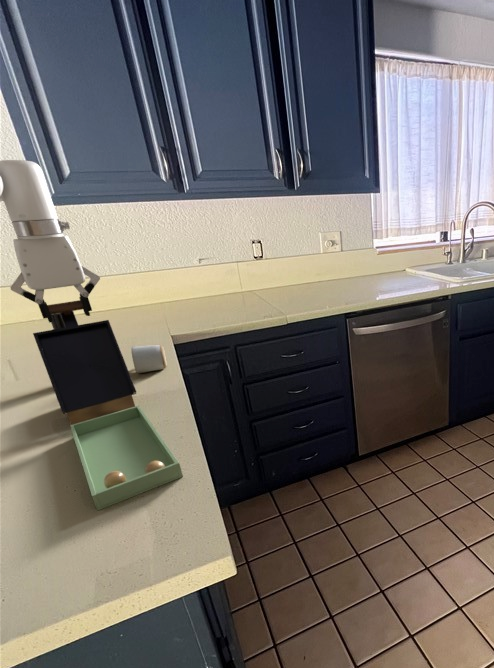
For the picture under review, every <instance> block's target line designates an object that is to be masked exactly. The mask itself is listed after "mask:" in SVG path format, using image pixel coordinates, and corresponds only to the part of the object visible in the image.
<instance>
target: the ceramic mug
mask: <svg viewBox="0 0 494 668" xmlns="http://www.w3.org/2000/svg"><path fill="white" fill-rule="evenodd" d="M131 358H132V363H133V367H134V370H135V372H136V374H142V373H143V374H144V373H149V372H155V371H161V370H164V369H166V368H167V367H168V362H167V356H166V351H165V348H164V346H163V345H161V344H152V345H139V346H132V347H131Z"/></svg>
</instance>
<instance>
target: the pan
mask: <svg viewBox="0 0 494 668" xmlns="http://www.w3.org/2000/svg"><path fill="white" fill-rule="evenodd" d="M47 306H48V309H49V311H50V314H57V313H60V314H61V317H62V319H63V322H64V325H65V328H60V329H54V330H52V329H49V330H44V331H38V332H33V333H32V335H33V338H34V340H35V342H36V345H37V348H38V351H39V354H40V357H41V359H42V361H43V365H44V367H45V370H46V373H47V376H48V378H49V382H50V383H51V386H52V389H53V391H54V394H55V397H56V400H57V402H58V404H59V407H60V410H61V413H62V414H63V415H65V414H67V413H69V412H72V411H76V410H80V409H83V408H87V407H91V406H94V405H98V404H102V403H105V402H109V401H113V400H116V399H120V398H123V397H127V396H131V395H132V396H135V395H137V390H136V387H135V384H134V381H133V379H132V376H131V374H130V372H129V370H128V366H127V363H126V361H125V358H124V356H123V353H122V351H121V348H120V346H119V343H118V341H117V338H116V335H115V332H114V330H113V327H112V325H111V322H110V320H109V319H105V320H99V321H94V322H89V323H83V324H79V323H78V320H77V317H76V315H75V311H82V310H83V306H82V303H81V301H80V299H79V300H72V301H65V302H58V303H52V304H47Z"/></svg>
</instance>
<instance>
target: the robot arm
mask: <svg viewBox="0 0 494 668" xmlns="http://www.w3.org/2000/svg"><path fill="white" fill-rule="evenodd" d="M0 202H3V203H4V205H5V209H6V211H7V214H8V216H9V219H10V221H11V224H12V227H13V230H14V233H15V235H16V237H17V238H14V239H12V240H13V247H14V253H15V256H16V260H17V263H18V267H19V269H20V273H19V274H18V275H17V277H16V278H15V280H14V281H13V283H12V284H11V285H10V291H12V292H14V293H16V294H17V295H20V296H22V297H24V298H26V299H28V300H29V301H31V302H33V303H36V304H37V305H38V308H39V311H40V314H41V316H42V319H47V321H48V323H51V322H52V321H53V320H52V317H51V314H50V311H49V309H48V306H47V305H48V303H47V302H46V301H45V299H44V294H45V290H51V289H59V288H67V287H74V288H75V289H76V290H77V291H78V293H79V297H78V299H79V300H80V301H81V303H82V306H83V309H82V310H83V314H84V315H85V316H86V317H90V316H91V313H90V312H92V311H93V309H92V306H91V303H90V299H89V297H90V294H91V293H92V291H93V290H94V288H95V287H96V285H97V284H98V283H99V281H100V280H101V277H100V276H99V275H98V274H97V273H95V272H93V271H91V270H89V269H88V268H86V267H84V266H83V265H82V264H81V261H80V259H79V255H78V254H77V251H76V250H75V248H74V245H73V243H72V241H71V238H70V237H69V236H68V235H67V234H66V235H64V232H65V231H66V230H70V229H71V228H70V223H69V222H68V221H61V220H60V219H59V217H58V214H57V211H56V208H55V205H54V202H53V198H52V196H51V193H50V190H49V187H48V184H47V181H46V178H45V175H44V171H43V169H42V168H41V166H40V165H39V164H38V163H37V162H35V161H31V160H24V159H2V160H0ZM86 276H87V277H88V278H89V281H88V282H87V283H86V284H85V285H84V286H83V285H82V284H84V283H85V282H86ZM23 284H26V286H27V287H28V288H29V289H30V290H35V291H34V293H33V292H31V291H29V290H26V289H25V288H23V287H22V286H23Z"/></svg>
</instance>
